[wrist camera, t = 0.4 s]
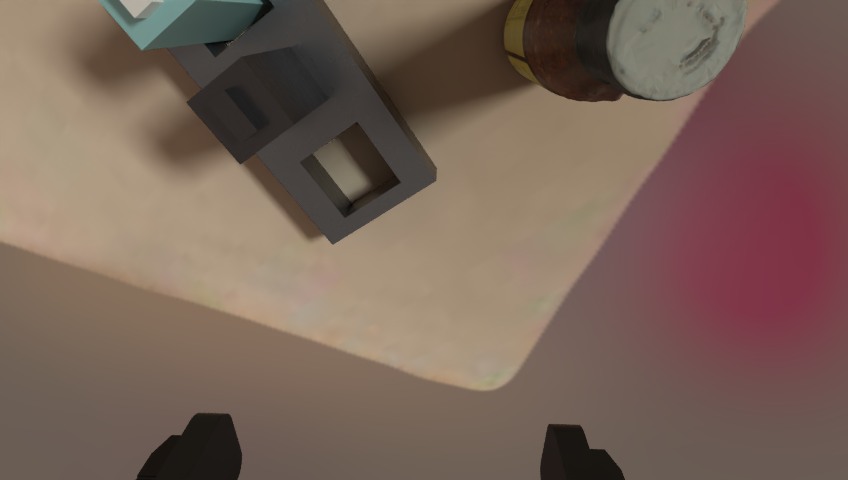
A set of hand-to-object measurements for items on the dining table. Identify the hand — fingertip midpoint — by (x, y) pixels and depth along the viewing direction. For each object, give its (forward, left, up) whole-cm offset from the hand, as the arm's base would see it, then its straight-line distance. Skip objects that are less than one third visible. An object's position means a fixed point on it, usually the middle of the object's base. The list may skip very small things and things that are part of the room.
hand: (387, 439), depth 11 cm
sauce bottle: (-7, +10, -27) cm, 29 cm away
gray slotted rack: (-6, -8, -27) cm, 29 cm away
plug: (-13, -11, -27) cm, 32 cm away
